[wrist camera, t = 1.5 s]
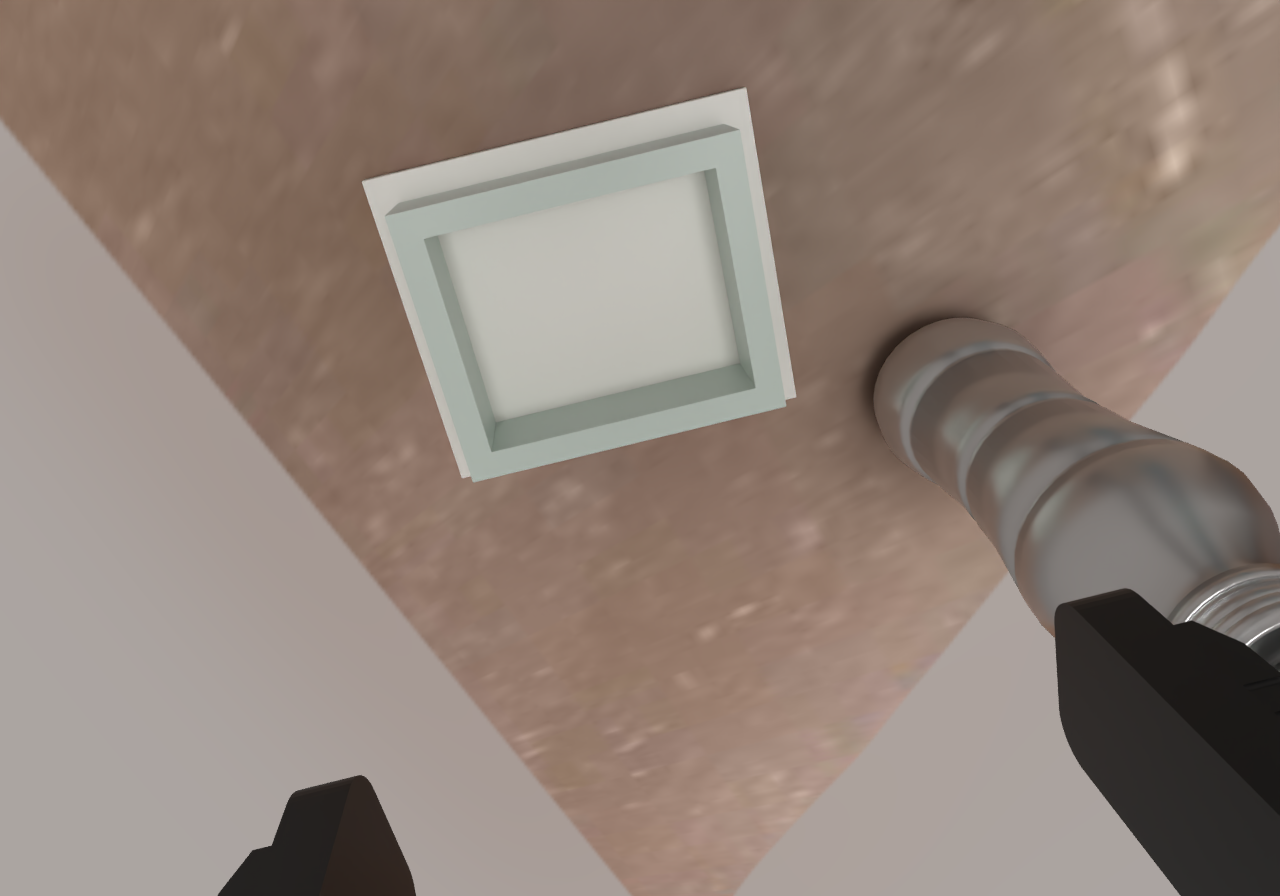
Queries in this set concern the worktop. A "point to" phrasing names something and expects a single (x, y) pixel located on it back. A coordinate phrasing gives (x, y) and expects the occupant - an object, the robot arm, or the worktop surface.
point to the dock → (591, 284)
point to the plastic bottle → (1080, 485)
